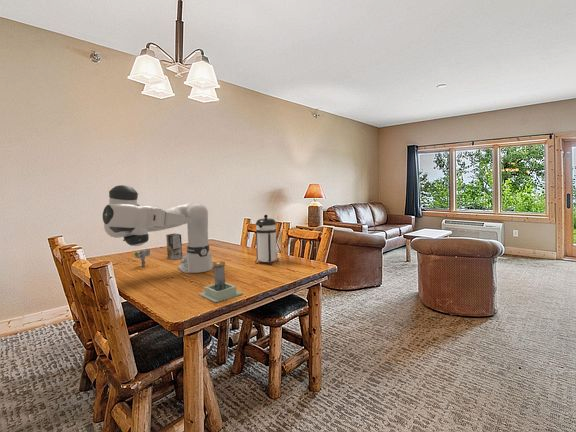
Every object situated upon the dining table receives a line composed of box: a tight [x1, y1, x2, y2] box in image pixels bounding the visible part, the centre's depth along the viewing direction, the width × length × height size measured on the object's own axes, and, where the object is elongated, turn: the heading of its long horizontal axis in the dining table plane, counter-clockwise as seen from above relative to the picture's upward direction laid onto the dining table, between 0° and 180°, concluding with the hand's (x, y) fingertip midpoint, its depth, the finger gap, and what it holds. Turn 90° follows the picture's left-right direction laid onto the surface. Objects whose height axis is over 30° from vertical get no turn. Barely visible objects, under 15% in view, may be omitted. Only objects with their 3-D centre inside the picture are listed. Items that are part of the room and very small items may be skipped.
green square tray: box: [198, 281, 244, 304], centre depth 138 cm, size 14×14×4 cm
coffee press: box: [254, 214, 279, 266], centre depth 193 cm, size 17×16×30 cm
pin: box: [212, 260, 226, 291], centre depth 137 cm, size 5×5×14 cm
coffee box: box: [165, 233, 183, 261], centre depth 207 cm, size 9×6×16 cm
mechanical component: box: [134, 248, 151, 268], centre depth 186 cm, size 3×10×10 cm, turn 158°
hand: (186, 219), depth 130 cm, fingers open, 8 cm apart
